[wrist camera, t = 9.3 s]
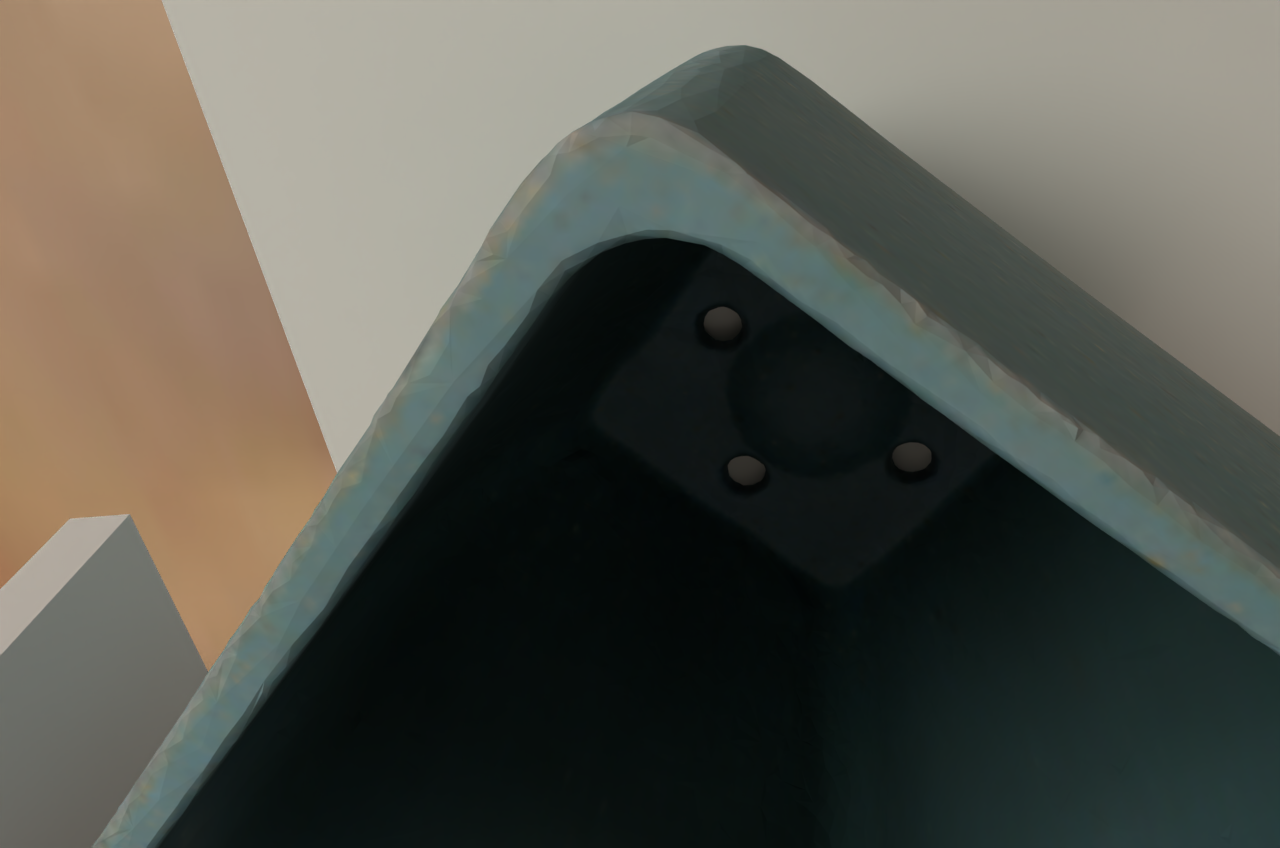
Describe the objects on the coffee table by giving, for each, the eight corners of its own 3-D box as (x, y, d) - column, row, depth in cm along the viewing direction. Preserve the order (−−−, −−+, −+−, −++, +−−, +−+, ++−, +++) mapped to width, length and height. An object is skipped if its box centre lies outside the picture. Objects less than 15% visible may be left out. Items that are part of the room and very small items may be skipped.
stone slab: (328, -118, 19) (136, -68, 14) (1249, -315, 16) (1433, -345, 11) (527, 561, 26) (444, 763, 21) (1207, 520, 22) (1309, 749, 17)
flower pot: (753, -126, 13) (587, 69, 5) (1330, 328, 14) (1884, 1013, 6) (396, 414, 17) (16, 957, 9) (864, 717, 19) (867, 1400, 11)
